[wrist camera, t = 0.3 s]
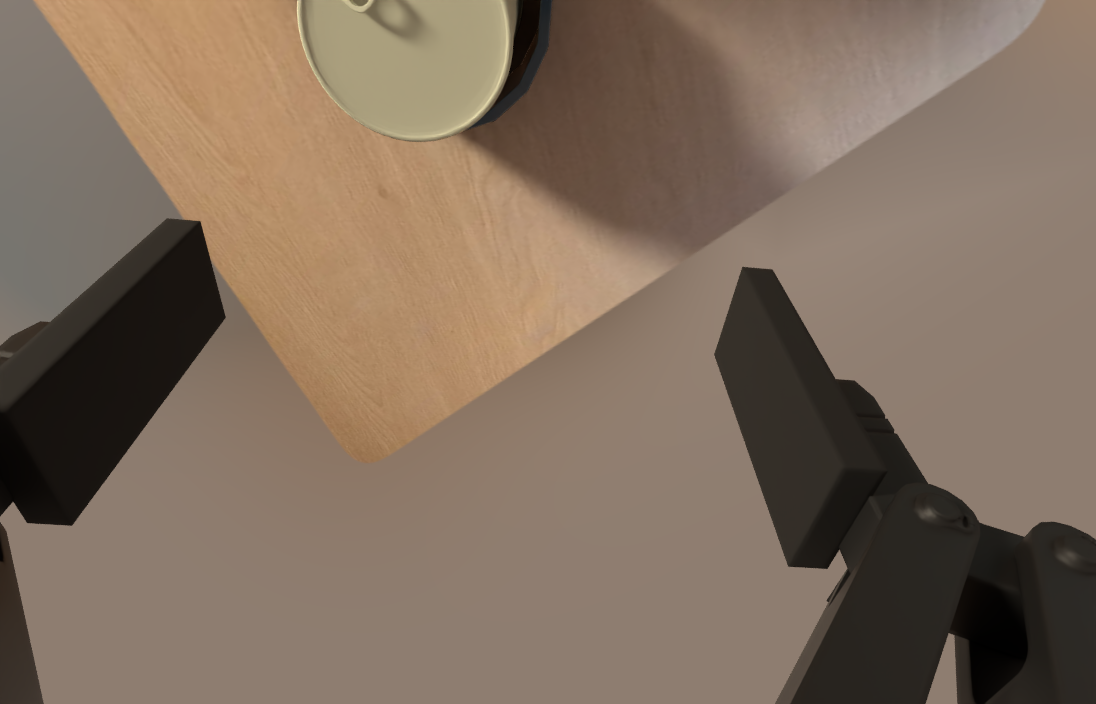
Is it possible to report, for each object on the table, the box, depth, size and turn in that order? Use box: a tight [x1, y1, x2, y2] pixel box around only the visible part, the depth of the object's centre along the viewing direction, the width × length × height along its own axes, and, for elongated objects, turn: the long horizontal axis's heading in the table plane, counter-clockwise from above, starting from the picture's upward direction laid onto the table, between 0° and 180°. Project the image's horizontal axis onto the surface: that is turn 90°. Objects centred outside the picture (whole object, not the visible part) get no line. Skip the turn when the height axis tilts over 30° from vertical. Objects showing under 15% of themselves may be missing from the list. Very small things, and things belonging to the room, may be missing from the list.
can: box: [297, 0, 523, 142], centre depth 31 cm, size 9×9×12 cm
